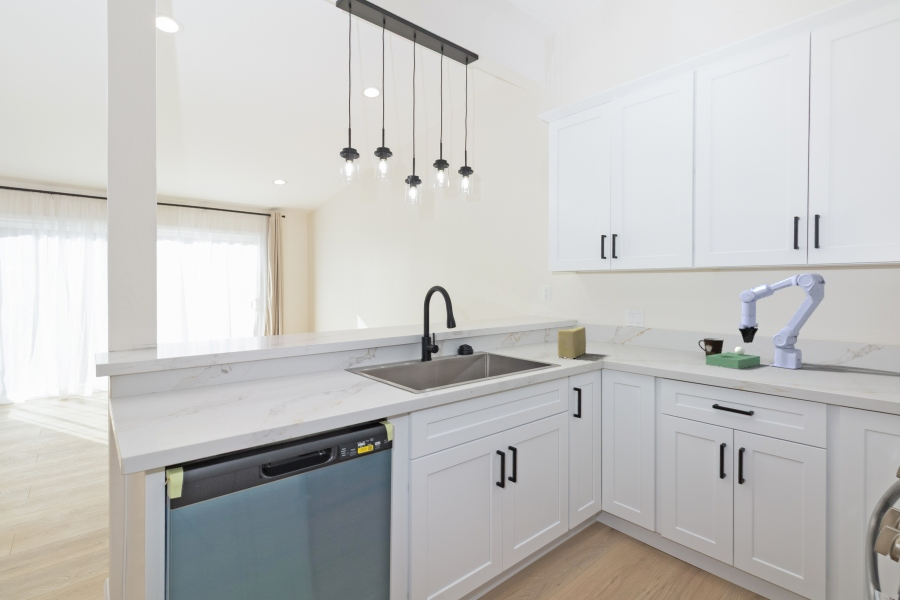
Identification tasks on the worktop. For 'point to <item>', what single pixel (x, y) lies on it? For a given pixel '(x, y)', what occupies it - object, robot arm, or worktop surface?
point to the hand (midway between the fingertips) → (748, 342)
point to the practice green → (733, 360)
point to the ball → (739, 350)
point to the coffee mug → (712, 346)
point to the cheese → (571, 342)
